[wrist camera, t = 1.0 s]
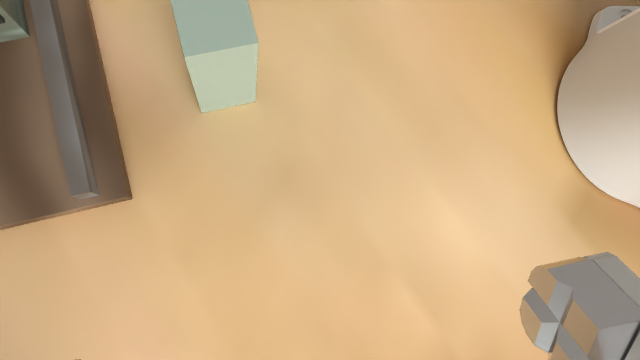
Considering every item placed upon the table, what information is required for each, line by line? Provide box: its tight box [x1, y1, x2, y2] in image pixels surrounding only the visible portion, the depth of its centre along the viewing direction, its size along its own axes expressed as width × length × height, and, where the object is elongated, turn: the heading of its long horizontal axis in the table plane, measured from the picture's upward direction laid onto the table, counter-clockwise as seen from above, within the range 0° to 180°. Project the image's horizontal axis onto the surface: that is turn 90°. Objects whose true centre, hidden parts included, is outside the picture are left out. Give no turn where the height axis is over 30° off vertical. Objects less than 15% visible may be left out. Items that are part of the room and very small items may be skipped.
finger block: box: [171, 0, 258, 113], centre depth 34 cm, size 4×4×11 cm
